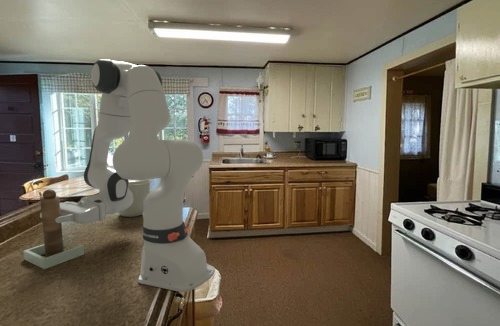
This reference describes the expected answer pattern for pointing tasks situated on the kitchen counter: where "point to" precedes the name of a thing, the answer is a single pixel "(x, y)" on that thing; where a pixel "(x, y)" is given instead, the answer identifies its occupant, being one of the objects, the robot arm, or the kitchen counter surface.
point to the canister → (137, 197)
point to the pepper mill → (51, 223)
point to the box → (35, 258)
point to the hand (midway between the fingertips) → (48, 218)
